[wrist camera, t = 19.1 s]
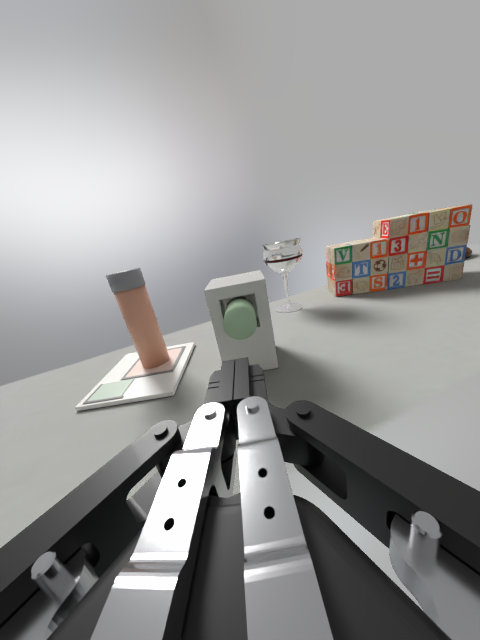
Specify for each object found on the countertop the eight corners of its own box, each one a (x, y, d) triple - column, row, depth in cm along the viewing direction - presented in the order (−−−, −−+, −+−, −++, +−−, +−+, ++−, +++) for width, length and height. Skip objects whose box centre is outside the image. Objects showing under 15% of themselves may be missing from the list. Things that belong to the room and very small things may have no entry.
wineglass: (309, 300, 45) (303, 236, 41) (305, 313, 39) (298, 240, 35) (275, 303, 47) (266, 243, 43) (267, 315, 42) (256, 247, 38)
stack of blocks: (335, 298, 44) (332, 230, 40) (327, 290, 50) (323, 230, 45) (463, 279, 40) (474, 202, 36) (438, 273, 46) (445, 206, 42)
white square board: (76, 411, 25) (74, 406, 25) (128, 356, 36) (126, 353, 36) (173, 395, 24) (172, 391, 24) (195, 344, 35) (194, 341, 35)
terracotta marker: (137, 371, 30) (98, 277, 25) (148, 356, 33) (116, 272, 29) (165, 366, 29) (131, 270, 25) (173, 352, 33) (144, 266, 29)
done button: (226, 342, 21) (219, 311, 20) (229, 326, 25) (223, 299, 24) (259, 336, 21) (253, 305, 20) (256, 321, 24) (251, 294, 23)
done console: (225, 376, 26) (204, 290, 22) (228, 351, 31) (211, 279, 28) (278, 367, 25) (264, 278, 22) (271, 343, 31) (259, 270, 28)
